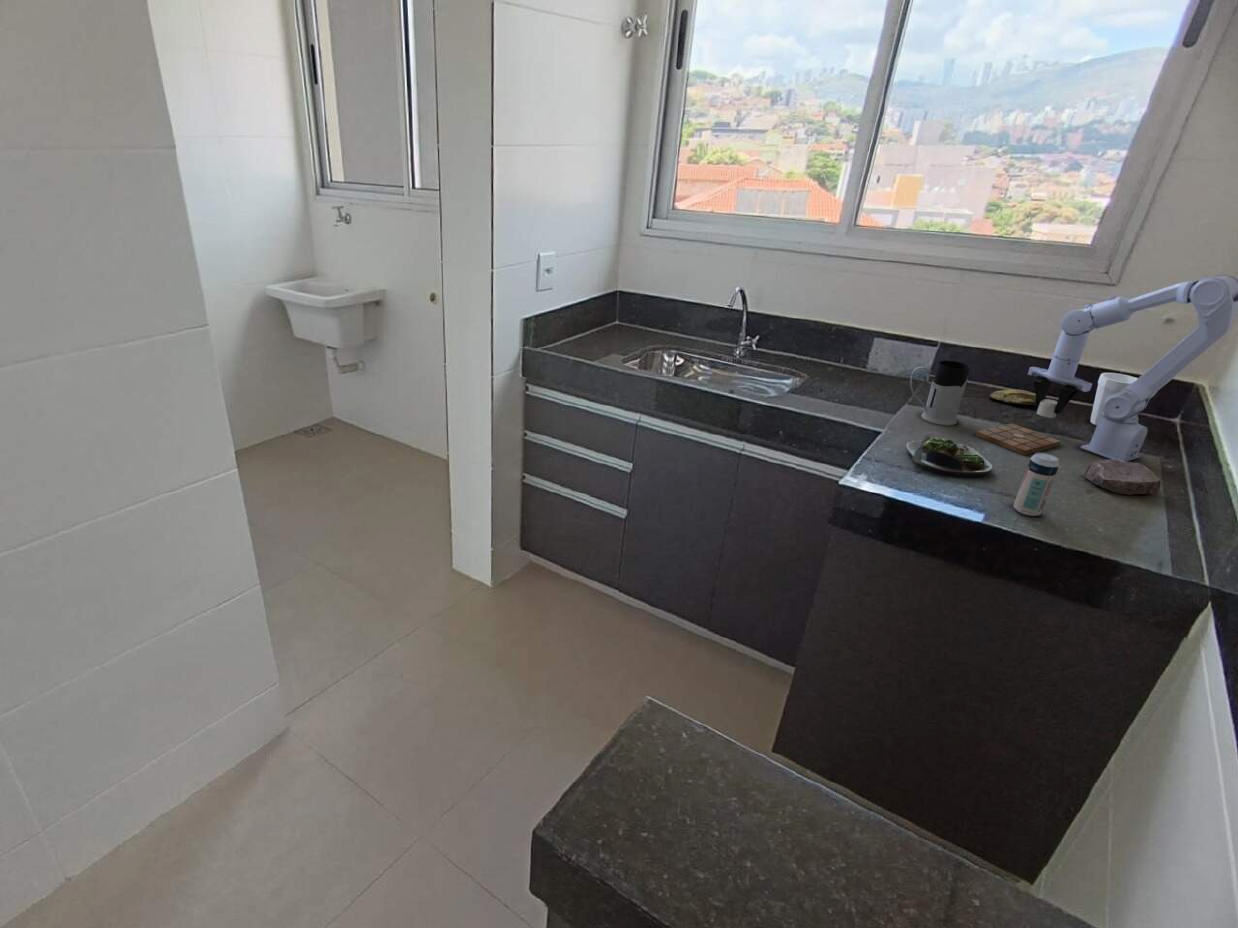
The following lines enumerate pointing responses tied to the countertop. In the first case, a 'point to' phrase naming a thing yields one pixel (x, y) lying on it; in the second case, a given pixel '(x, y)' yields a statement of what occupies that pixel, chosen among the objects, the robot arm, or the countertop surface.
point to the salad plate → (948, 458)
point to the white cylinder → (1047, 408)
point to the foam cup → (1108, 391)
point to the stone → (1123, 477)
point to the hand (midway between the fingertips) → (1048, 409)
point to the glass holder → (944, 392)
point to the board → (1018, 438)
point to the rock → (1015, 396)
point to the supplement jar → (1036, 484)
